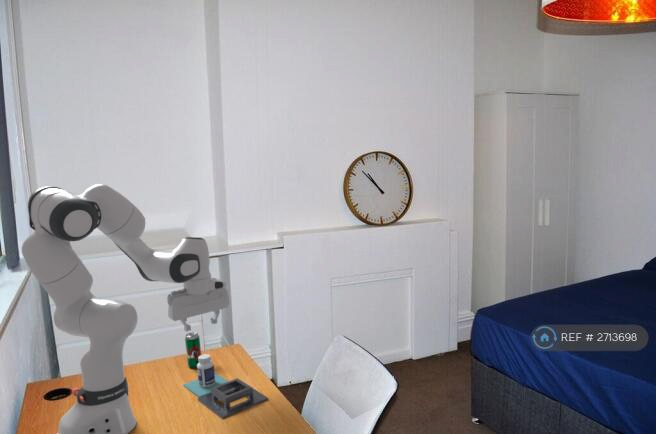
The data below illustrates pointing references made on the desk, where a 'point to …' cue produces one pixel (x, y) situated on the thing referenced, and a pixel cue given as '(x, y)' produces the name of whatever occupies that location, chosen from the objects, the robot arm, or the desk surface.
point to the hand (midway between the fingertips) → (201, 326)
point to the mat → (203, 391)
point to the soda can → (192, 349)
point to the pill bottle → (205, 371)
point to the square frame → (231, 398)
